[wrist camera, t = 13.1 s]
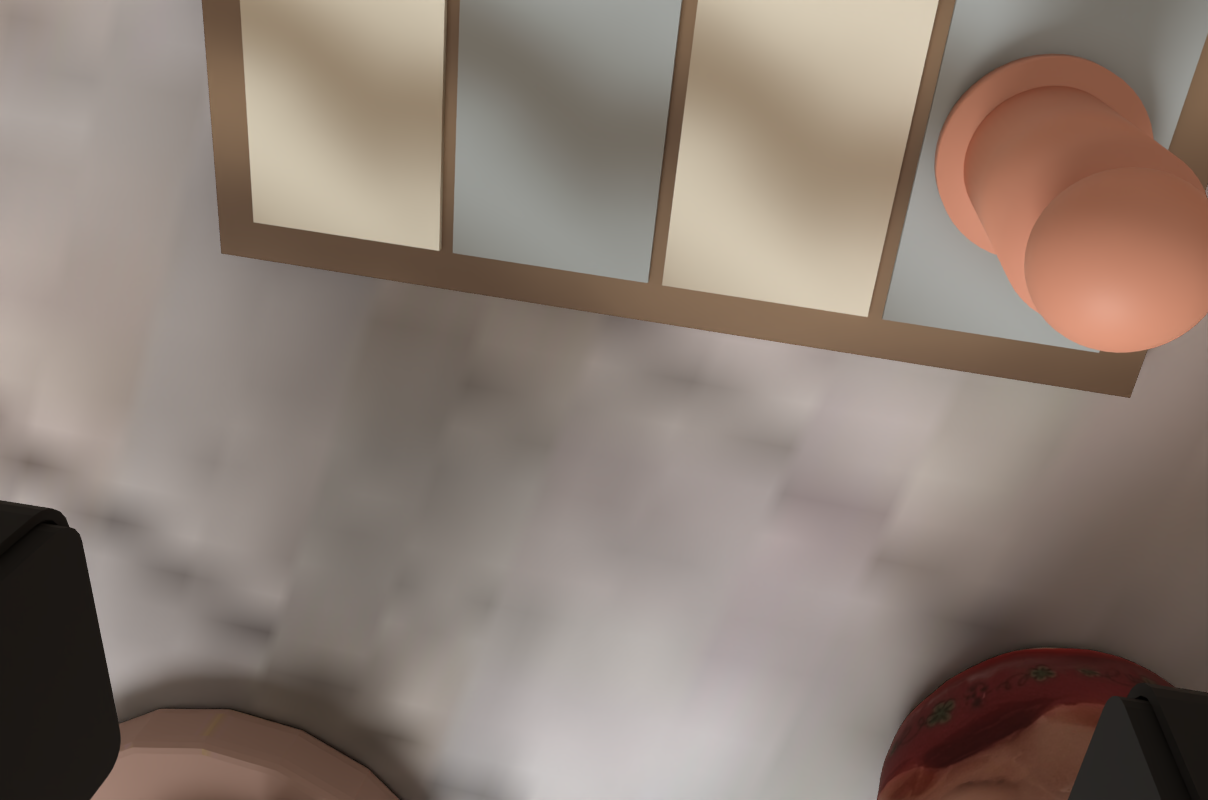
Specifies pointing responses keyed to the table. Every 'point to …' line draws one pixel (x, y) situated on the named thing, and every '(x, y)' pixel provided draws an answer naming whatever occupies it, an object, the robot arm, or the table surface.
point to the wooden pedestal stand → (230, 761)
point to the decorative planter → (1007, 727)
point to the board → (669, 157)
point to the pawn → (1078, 202)
